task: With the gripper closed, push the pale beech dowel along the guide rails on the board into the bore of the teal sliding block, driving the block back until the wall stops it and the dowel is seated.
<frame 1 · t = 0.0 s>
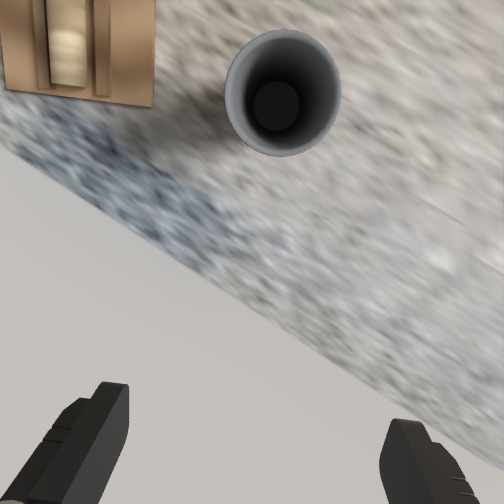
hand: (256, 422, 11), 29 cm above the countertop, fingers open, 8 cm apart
cup: (276, 106, 35), on the countertop
dowel: (76, 39, 33), point 1 cm above the countertop, touching board
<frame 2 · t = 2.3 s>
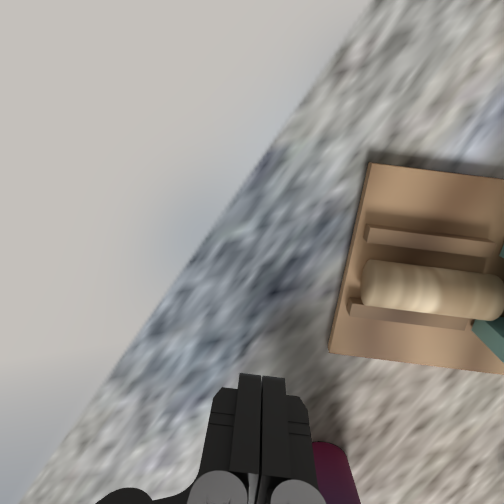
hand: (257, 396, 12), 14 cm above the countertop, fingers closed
cup: (318, 461, 32), on the countertop
dowel: (421, 276, 25), point 1 cm above the countertop, tilted 12°, touching board
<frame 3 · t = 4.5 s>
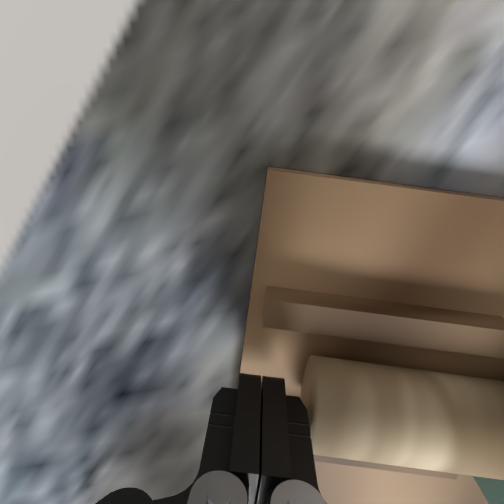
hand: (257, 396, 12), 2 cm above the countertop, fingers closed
dowel: (412, 383, 13), point 1 cm above the countertop, tilted 6°, touching board, gripper
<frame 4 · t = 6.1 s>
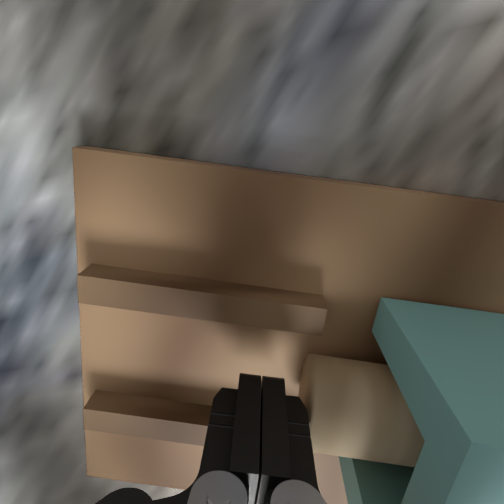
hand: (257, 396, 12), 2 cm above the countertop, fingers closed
block: (499, 466, 10), point 4 cm above the countertop, slide at 0.9 cm
board: (380, 368, 14), on the countertop
dowel: (409, 383, 13), point 1 cm above the countertop, touching board, gripper
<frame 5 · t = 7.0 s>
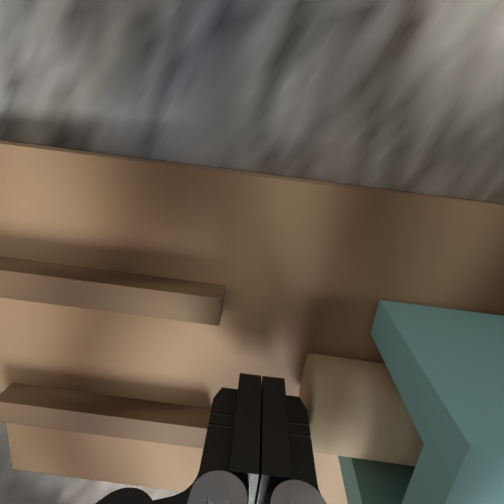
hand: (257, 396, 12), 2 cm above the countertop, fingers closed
block: (498, 467, 11), point 4 cm above the countertop, slide at 4.2 cm, touching dowel
board: (295, 359, 14), on the countertop
dowel: (409, 383, 13), point 1 cm above the countertop, touching block, board, gripper
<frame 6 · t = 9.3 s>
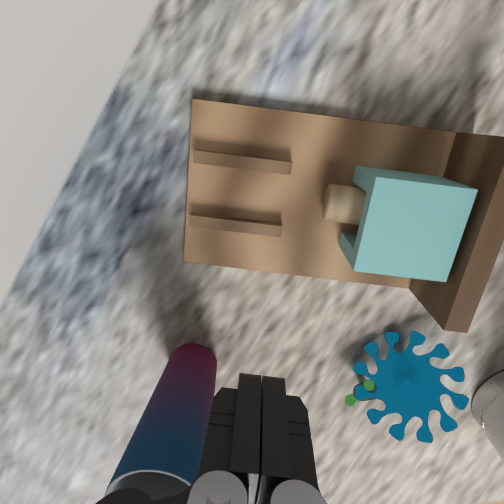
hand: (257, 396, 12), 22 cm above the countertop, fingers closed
gear: (388, 359, 38), on the countertop
cup: (193, 362, 39), on the countertop
block: (398, 221, 28), point 4 cm above the countertop, slide at 4.3 cm
board: (318, 200, 32), on the countertop
dowel: (369, 206, 31), point 1 cm above the countertop, tilted 8°, touching board
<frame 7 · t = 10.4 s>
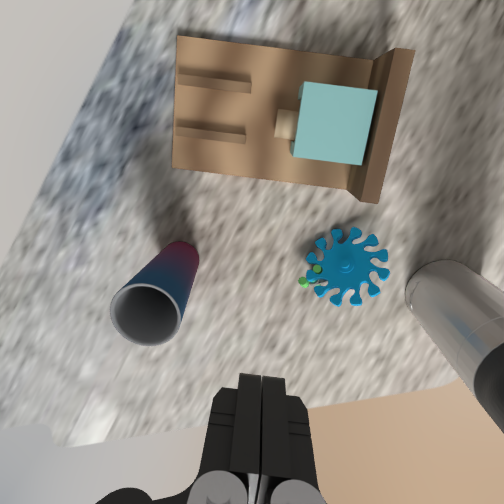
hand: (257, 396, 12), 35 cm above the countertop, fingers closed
gear: (336, 256, 48), on the countertop
cup: (181, 258, 48), on the countertop
block: (329, 124, 38), point 4 cm above the countertop, slide at 4.3 cm
board: (274, 118, 42), on the countertop
dowel: (311, 121, 41), point 1 cm above the countertop, tilted 30°, touching board
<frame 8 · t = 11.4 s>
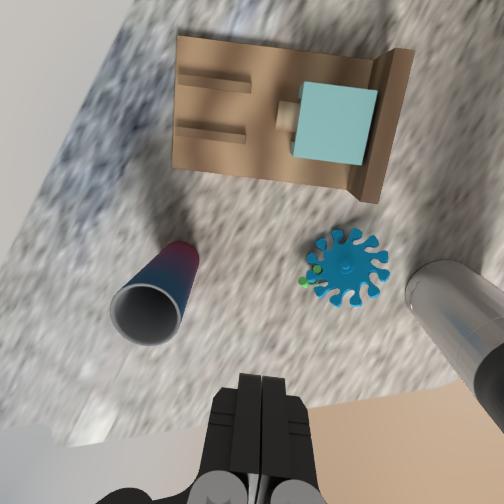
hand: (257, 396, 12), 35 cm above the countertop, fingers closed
gear: (336, 257, 48), on the countertop
cup: (181, 258, 48), on the countertop
block: (329, 124, 38), point 4 cm above the countertop, slide at 4.3 cm
board: (274, 118, 42), on the countertop
dowel: (311, 120, 41), point 1 cm above the countertop, touching board
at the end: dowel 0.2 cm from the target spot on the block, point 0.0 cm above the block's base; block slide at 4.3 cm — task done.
